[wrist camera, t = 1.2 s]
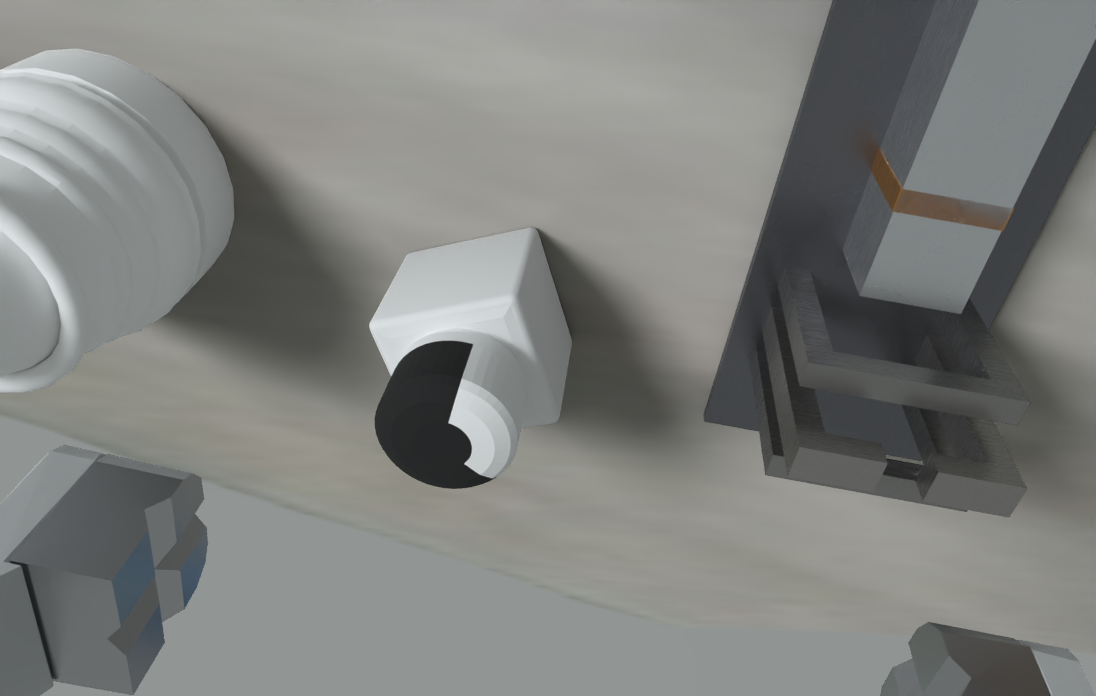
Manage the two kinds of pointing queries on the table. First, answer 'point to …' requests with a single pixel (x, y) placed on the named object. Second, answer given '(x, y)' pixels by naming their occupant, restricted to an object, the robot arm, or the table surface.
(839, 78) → the rail
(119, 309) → the honey pot
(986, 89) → the orange-striped grey block
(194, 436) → the table surface
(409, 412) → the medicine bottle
